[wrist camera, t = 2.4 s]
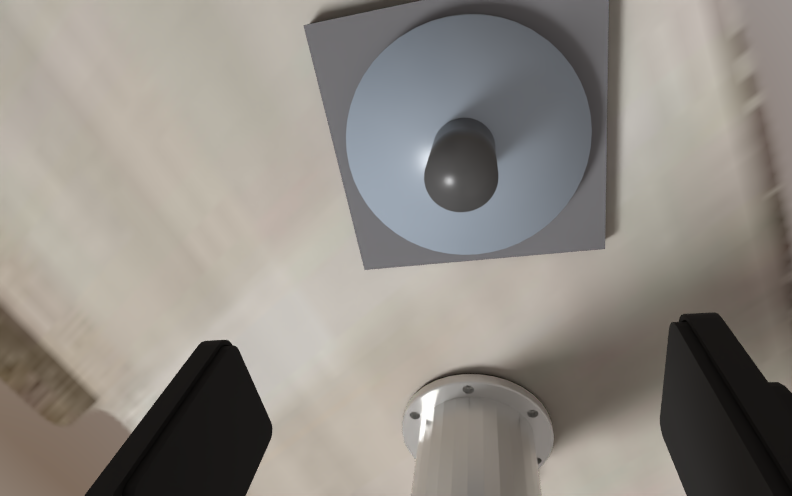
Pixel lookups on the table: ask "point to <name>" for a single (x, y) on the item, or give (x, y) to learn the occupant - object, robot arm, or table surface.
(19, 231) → the table surface
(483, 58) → the lid
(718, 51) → the table surface
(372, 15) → the mat
